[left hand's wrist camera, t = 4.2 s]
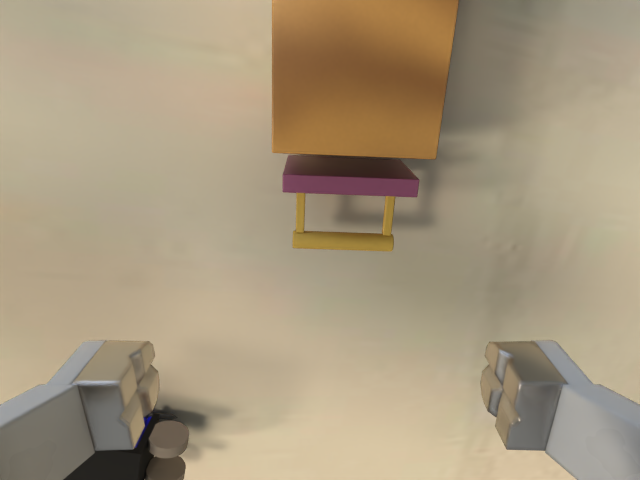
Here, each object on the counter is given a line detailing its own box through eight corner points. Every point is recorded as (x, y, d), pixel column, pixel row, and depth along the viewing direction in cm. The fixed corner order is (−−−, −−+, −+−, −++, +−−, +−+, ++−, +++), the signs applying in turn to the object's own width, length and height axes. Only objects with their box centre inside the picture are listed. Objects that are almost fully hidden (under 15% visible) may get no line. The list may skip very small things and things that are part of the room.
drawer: (392, 235, 36) (407, 268, 30) (287, 231, 36) (281, 264, 30) (436, -156, 26) (472, -221, 20) (293, -165, 26) (287, -234, 20)
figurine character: (197, 392, 44) (38, 380, 41) (186, 454, 37) (-6, 445, 35) (191, 440, 47) (40, 431, 44) (178, 506, 40) (-1, 502, 37)
